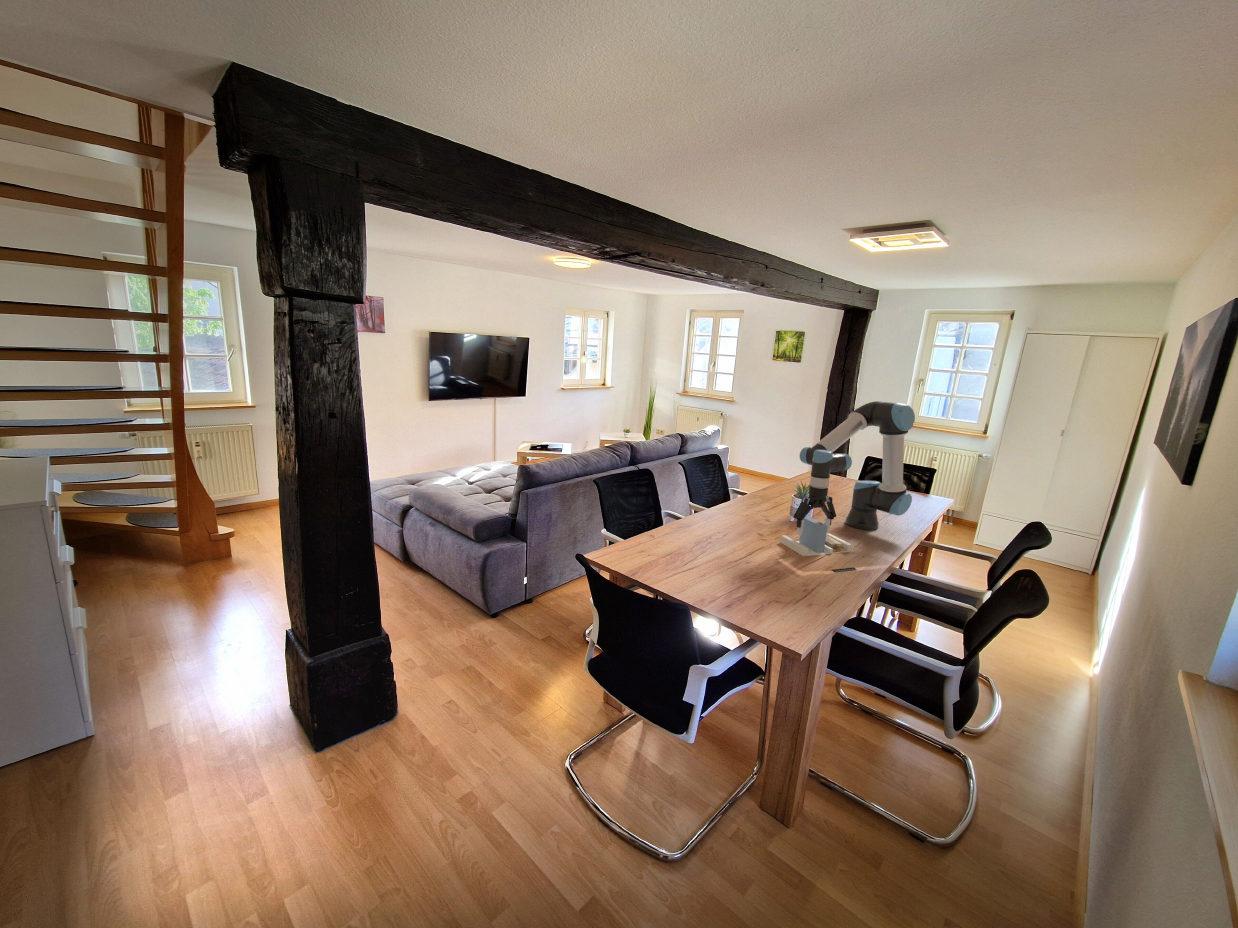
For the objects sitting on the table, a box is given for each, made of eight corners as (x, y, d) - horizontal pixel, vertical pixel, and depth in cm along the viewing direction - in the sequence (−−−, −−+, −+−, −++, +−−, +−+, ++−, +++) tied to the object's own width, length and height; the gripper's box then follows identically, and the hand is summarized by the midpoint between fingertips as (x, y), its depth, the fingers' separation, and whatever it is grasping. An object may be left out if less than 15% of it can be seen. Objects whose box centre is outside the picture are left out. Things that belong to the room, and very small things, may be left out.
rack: (825, 540, 225) (826, 531, 224) (850, 554, 210) (851, 544, 209) (780, 544, 219) (781, 535, 218) (803, 558, 204) (804, 548, 203)
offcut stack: (822, 539, 223) (823, 533, 223) (844, 551, 210) (845, 544, 210) (810, 540, 222) (811, 534, 221) (832, 552, 209) (833, 545, 208)
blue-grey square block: (805, 541, 220) (808, 516, 217) (823, 552, 209) (827, 525, 206) (799, 542, 219) (802, 517, 216) (816, 552, 208) (820, 526, 205)
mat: (831, 556, 207) (832, 555, 207) (856, 570, 194) (856, 568, 194) (811, 558, 204) (812, 557, 204) (835, 572, 191) (835, 571, 191)
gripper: (837, 483, 215) (830, 528, 219) (788, 485, 208) (782, 532, 212) (849, 487, 208) (842, 534, 212) (799, 489, 201) (793, 538, 205)
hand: (812, 533), depth 212 cm, fingers open, 13 cm apart
